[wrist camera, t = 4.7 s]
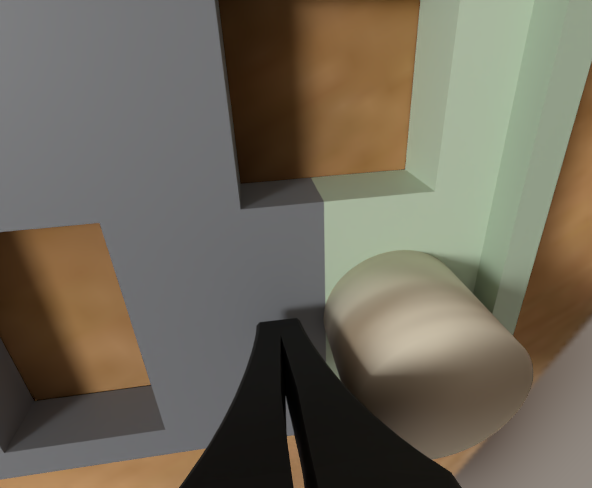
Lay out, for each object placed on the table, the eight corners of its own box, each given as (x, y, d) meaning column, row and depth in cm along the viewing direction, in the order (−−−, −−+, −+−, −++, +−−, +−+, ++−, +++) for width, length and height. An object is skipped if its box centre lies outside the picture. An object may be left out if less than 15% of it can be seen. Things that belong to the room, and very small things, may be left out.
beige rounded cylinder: (448, 352, 15) (511, 445, 12) (324, 370, 15) (351, 472, 11) (467, 241, 13) (554, 316, 9) (321, 259, 12) (354, 343, 9)
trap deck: (444, 368, 19) (485, 432, 16) (23, 427, 17) (-26, 513, 14) (522, -56, 11) (636, -97, 8) (-246, -33, 9) (-500, -76, 6)
